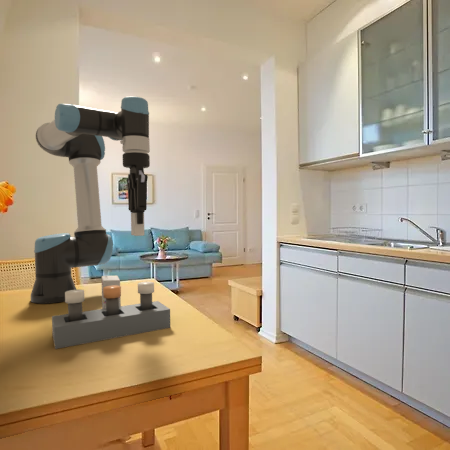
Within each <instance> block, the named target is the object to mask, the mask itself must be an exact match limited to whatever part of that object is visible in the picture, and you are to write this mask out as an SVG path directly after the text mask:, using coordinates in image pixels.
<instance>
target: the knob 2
mask: <svg viewBox="0 0 450 450" xmlns="http://www.w3.org/2000/svg"><path fill="white" fill-rule="evenodd" d="M154 293H155V282H154V281H142V282H138V283H137V294H139V296H140V297H139V301H140V303H139V304H140V311H144V310H151V309H152V302H153V294H154Z"/></svg>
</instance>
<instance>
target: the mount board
mask: <svg viewBox="0 0 450 450" xmlns="http://www.w3.org/2000/svg"><path fill="white" fill-rule="evenodd" d="M51 326H52V327H51V329H52V330H51V331H52V332H51V333H52V340H53V345H54V350H57V349H62V348H67V347H72V346H73V347H74V346H78V345H84V344H89V343H96V342H99V341H104V340H110V339H116V338H120V337H121V338H122V337H127V336H131V335H132V336H133V335H137V334H143V333H147V332H148V333H149V332H153V331H159V330H164V329H170V328H171V308H169V307H168V306H166V305H165V304H163V303H162V302H160V301H159V300H155V301H152V309H151V310H144V311H140V303H134V304H126V305H121V306H120V307H119V314H118V315H112V316H106V309H102V308H100V309H94V310H93V309H91V310H85V311H82V320H79V321H73V322H69V321H68V313H66V314H58V315H52V316H51Z"/></svg>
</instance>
